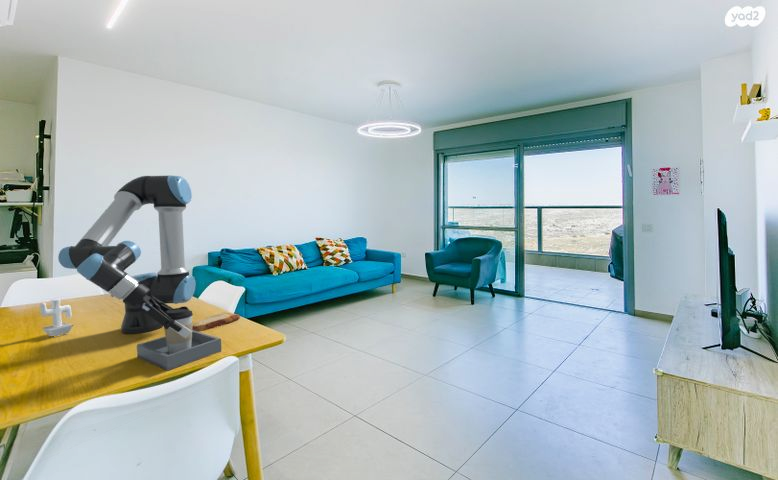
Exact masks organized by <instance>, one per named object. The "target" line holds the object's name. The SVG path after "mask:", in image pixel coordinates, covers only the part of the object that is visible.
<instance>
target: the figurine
mask: <svg viewBox="0 0 778 480" xmlns="http://www.w3.org/2000/svg"><path fill="white" fill-rule="evenodd" d="M39 309H40V310H39V311H40V315H41V316H42V317H48V316H51V317H52V325H48V326H44V327H41V329H42V330H43V331H44V332H45V333H46V335H47V336H48V335H50V336H58V335H62V334H66V333H68V334H69V333H70V331H71V330H72V328H73V326H74V324H72V323H68V322H67V323H66V322H62V313H65V318H68V319H70V318H72V317H73V316H72V315H73V314H72V308H71V305H69V304H65V305H61V299H60V298H51V299H50V307H49V308H48V307H47V304H46V302H41V303H39ZM66 335H67V334H66ZM50 336H49V337H50ZM62 336H63V335H62Z"/></svg>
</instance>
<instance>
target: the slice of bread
mask: <svg viewBox="0 0 778 480" xmlns="http://www.w3.org/2000/svg"><path fill="white" fill-rule="evenodd" d="M240 318H241V315H240V314H236V313H229V312H221V313H218V314H214V315H211V316H208V317H205V318H203V319H201V320H199V321H197V322H195V323H194V324H192V330H194V331H197V332H202V331H208V330H211V329H214V328H218V327H221V325H222V326H224V324H225V325H226V324H227V325H228V324H230V323H233V322H235V321H237V320H239V319H240ZM217 326H218V327H217Z"/></svg>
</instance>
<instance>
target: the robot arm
mask: <svg viewBox="0 0 778 480" xmlns="http://www.w3.org/2000/svg"><path fill="white" fill-rule="evenodd" d="M192 196H193V195H192V190H191V187H190V184H189V182H188V181H187V179H186V178H184V177H182V176H179V175H143V176H139V177H136V178H134V179H131V180H130V181H128V182H127V183H125V184H124V185H123V186H122V187H120V188H119V189H118V191H116V193H115V194H114V197H113V198H114V200H113V201H112V202H111V203H110V205H109V206H108V207H107V208H106V209H105V210H104V212H102V214H101V215H100V216H99V218H98V219H97V220H96V221H95V222H94V223H93V224H92V226H91V227H90V228H89V229H88V230H87V232H85V234H84V235H83V236H82V238H80V240H79V241H77V243H76V244H75V245H73V246H72V245H71V246H66V247H63V248H61V249H60V251H59V253H58V255H57V256H58V257H57V258H58V262H59V265H60V266H62V267H63V268H65V269H69V270H71V269H74V270H76V271H77V273H78V274H79V275H81V276H82V277H84V279H85V280H87V281H89V282H91V283H93V284H95V286H97V287H98V288H101V289H102V290H104V291H105V292H107V293H109V294H110V297H112V298H113V297H114V298H116V299H118V300H122V303H123V304H124V315H123V319H122V323H121V325H120V329H121V331H120V332H121V333H122V334H128V335H129V334H130V335H132V334H134V335H135V334H142V333H147V332H151V331H155V330H158V329H160V328H162V327H163V328H164V327H165V329H168V328H170V329H172V330H173V331H175V332H176V333H178V334H180V335H181V336H183V337H184V338H187V337H188V336H189V335H190V334H191V333H192V331H191V330H189V329H188V328H186V327H185V326H183V325H182V324H180V323H179V322H177V321H176V320H175V321H174V320H173V319H171V318H170V317H169V316H168V315H167V314H166V311H168V310H170V309H174V307H172V306H170V305H169V304H175V305H178V304H184V303H187V302H190V300H191V299H192V297H193V296H194V294H195V291H196V287H197V286H196V279H195V277H194V276H193V275H190V270H189V269H188V268H186V266H185V265H186V263H185V245H184V223H183V221H184V220H183V212H184V211H185V210H186V209H187V205H188V204H189V203H190V202H191V201H192V200H191V199H192ZM149 204H151V205H153V208H154V210H156V211H157V212H158V228H159V231H158V232H159V234H158V235H159V247H160V248H159V250H160V266H161V267H160V270H158V272H148V273H141V274H136V275H135V274H134V275H130V274H129V273H127V272H126V270H127V269H128V268H129V267H130V266H131V265H132V264H134V263H136V261H137V260H139V258H140V257H141V255H142V250H141V247H140V246H139V245H138V244H137V243H136V242H133V241H130V240H123V241H121V242H118V243H117V244H116V245H110V244H111V243H112V241H113V239H115V237H116V236H117V235H118V234H119V232H120V230H121V229H122V228H123V227H124V225H126V223H127V222H128V220H129V219H130V218H131V216H132V215H133V214H134V213H135V212H136V211H138V210H140V209H141V208H142V207H143V206H144V205H149Z"/></svg>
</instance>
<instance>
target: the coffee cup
mask: <svg viewBox="0 0 778 480" xmlns="http://www.w3.org/2000/svg"><path fill="white" fill-rule="evenodd" d="M166 314H167V315H168V316H169V317H170V318H171V319H173V320H174V321H175V320H176V321H177V322H179V323H180V324H182V325H183V326H185V327H186V328H188V329H189V330H191V331H192V327H193V325H194V324H193V315H194V313H193V311H192V310H190V309H189V308H188V307H187V306H180V307H175V308H174V307H173V309H170V310H168V311H166ZM163 329H164V331H163V332H164V337H166V342H167V346H168V353H169V354H173V353H176V352H179V351H182V350H185V349H188V348H191V341H192V333H191V334H190V335H189V336H188V337H187V338H184V337H183V336H181V335H180V334H178V333H176V332H175V331H173V330H172V329H170V328H168V329H165V327H164V326H163Z"/></svg>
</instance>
